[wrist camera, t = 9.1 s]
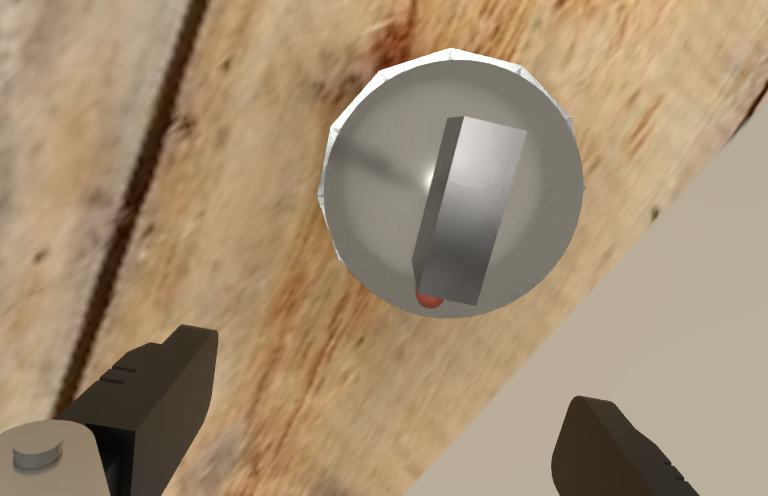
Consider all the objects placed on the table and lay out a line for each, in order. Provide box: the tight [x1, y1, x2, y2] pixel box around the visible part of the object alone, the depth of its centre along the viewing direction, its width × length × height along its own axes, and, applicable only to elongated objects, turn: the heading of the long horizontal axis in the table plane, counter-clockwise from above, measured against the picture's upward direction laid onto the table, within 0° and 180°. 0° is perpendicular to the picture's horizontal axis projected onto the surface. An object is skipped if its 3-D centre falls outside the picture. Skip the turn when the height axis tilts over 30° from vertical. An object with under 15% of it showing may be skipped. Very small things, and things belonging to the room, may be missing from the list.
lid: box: [324, 60, 583, 318], centre depth 21 cm, size 12×12×6 cm
